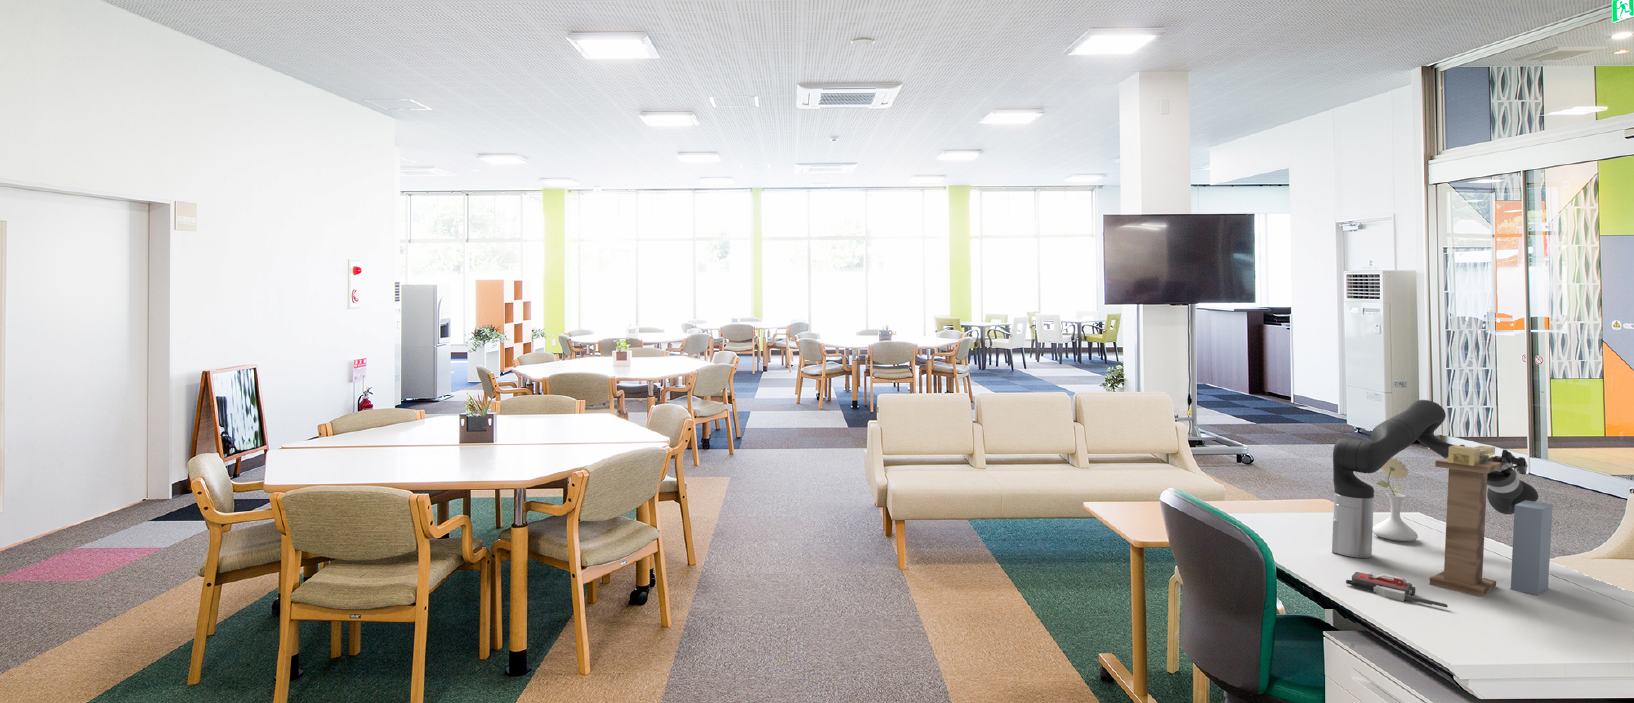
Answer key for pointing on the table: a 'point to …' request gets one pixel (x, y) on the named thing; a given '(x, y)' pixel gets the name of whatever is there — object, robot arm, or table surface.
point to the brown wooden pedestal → (1465, 527)
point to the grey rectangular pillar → (1531, 547)
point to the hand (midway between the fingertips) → (1482, 450)
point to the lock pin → (1469, 454)
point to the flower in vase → (1394, 507)
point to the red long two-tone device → (1388, 587)
